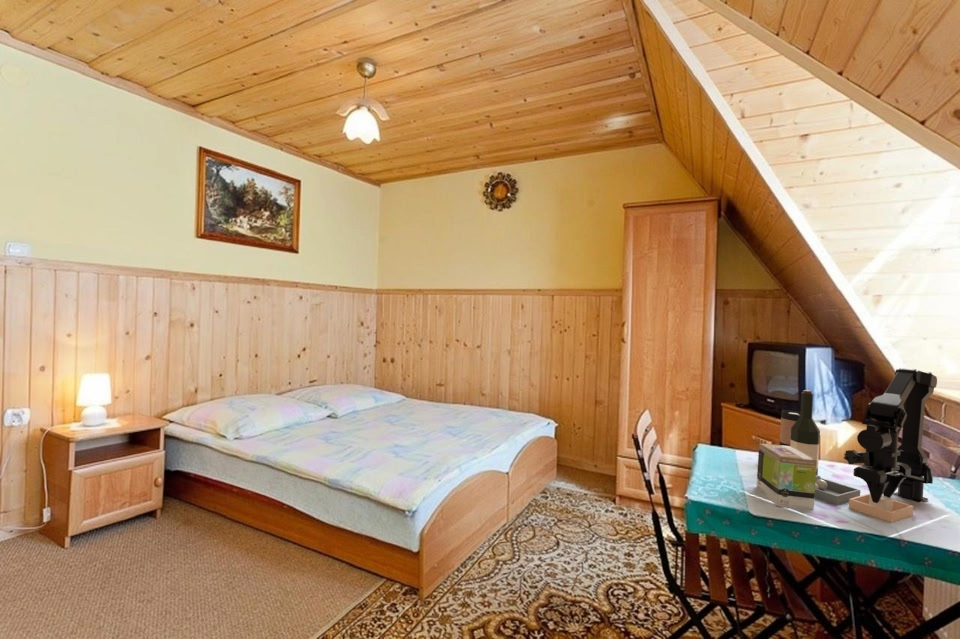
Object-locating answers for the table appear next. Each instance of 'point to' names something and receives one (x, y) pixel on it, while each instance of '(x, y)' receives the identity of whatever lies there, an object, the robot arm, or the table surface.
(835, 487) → the bin
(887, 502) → the beige cube
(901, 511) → the bin
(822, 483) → the cream glossy ball
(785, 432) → the travel mug
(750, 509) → the table surface
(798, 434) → the wine bottle
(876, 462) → the robot arm
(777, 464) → the tea box
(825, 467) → the table surface
